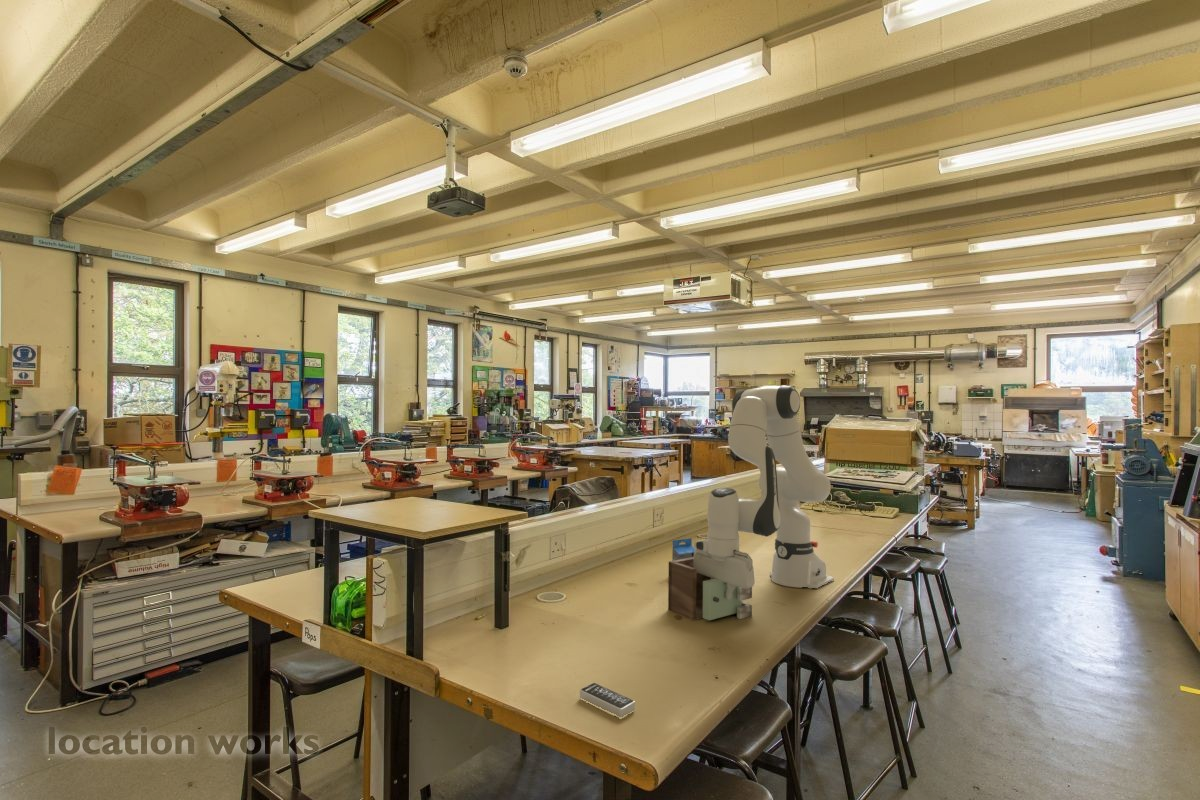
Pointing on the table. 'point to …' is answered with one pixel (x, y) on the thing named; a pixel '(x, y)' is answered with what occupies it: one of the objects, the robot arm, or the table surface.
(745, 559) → the robot arm
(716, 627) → the table surface
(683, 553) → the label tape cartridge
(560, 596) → the table surface
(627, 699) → the multiport hub
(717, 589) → the door
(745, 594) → the cabinet
